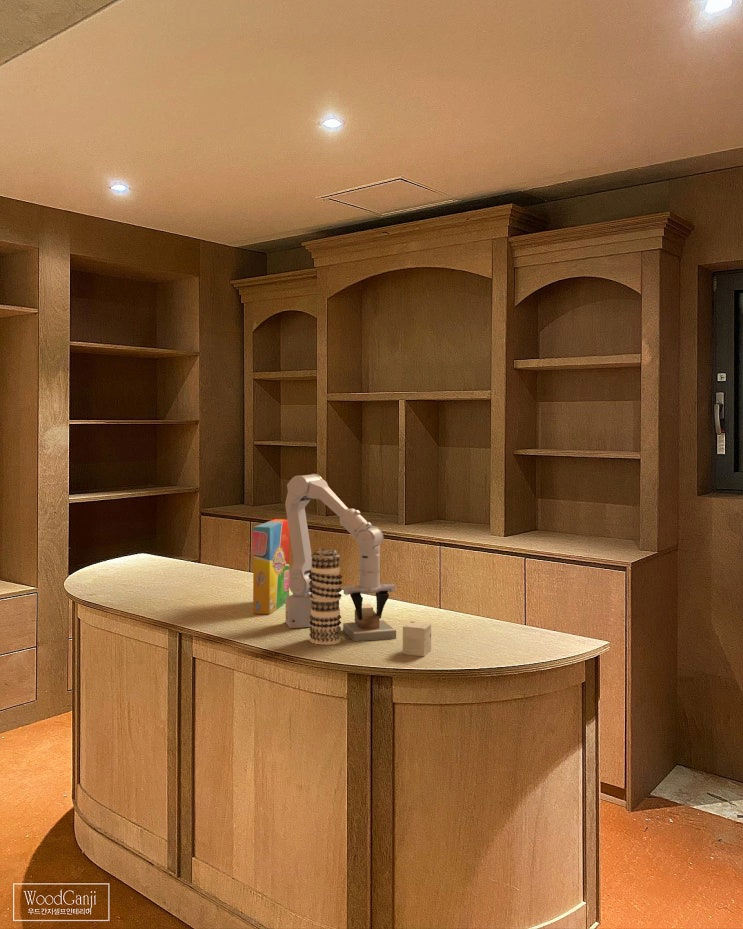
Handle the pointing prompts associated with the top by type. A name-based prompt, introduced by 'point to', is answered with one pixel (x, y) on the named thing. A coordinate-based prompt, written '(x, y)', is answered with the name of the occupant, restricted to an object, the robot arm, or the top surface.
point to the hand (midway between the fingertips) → (369, 618)
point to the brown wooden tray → (368, 621)
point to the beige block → (367, 610)
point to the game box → (270, 565)
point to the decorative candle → (325, 597)
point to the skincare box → (417, 638)
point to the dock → (369, 631)
